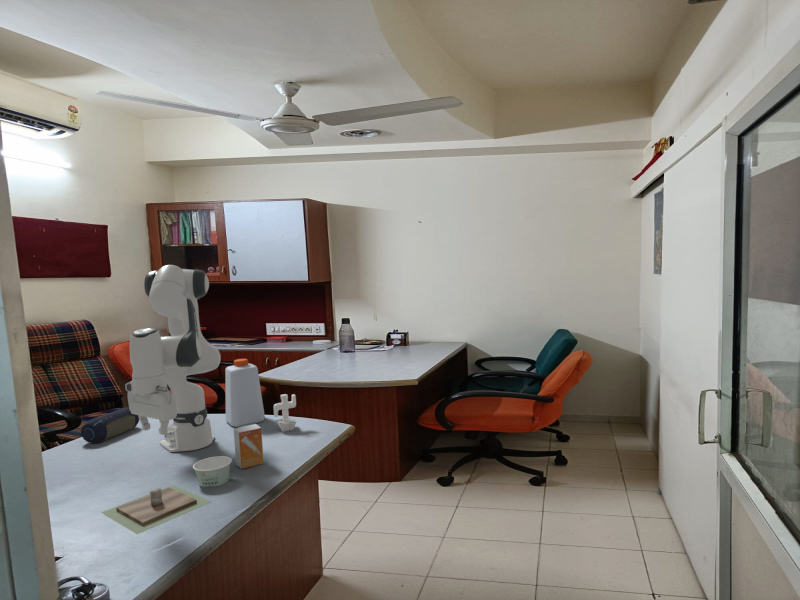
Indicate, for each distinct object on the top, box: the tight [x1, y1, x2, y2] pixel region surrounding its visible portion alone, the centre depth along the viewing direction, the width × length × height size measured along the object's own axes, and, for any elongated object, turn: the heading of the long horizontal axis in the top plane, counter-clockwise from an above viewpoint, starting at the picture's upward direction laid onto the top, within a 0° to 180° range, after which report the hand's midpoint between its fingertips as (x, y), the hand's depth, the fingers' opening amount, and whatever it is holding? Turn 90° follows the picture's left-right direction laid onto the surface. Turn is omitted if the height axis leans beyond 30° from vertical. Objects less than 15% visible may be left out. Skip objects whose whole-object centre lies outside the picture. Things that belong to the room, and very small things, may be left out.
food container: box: [192, 455, 233, 488], centre depth 173 cm, size 12×12×6 cm
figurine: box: [273, 393, 297, 433], centre depth 223 cm, size 7×9×15 cm
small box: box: [233, 423, 265, 470], centre depth 187 cm, size 8×6×13 cm
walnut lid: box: [115, 487, 197, 526], centre depth 156 cm, size 16×16×5 cm
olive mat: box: [101, 484, 212, 535], centre depth 156 cm, size 22×22×1 cm
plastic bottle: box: [224, 358, 265, 428], centre depth 238 cm, size 15×15×28 cm
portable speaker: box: [80, 406, 140, 444], centre depth 228 cm, size 25×10×10 cm, turn 163°
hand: (154, 431), depth 155 cm, fingers open, 8 cm apart
